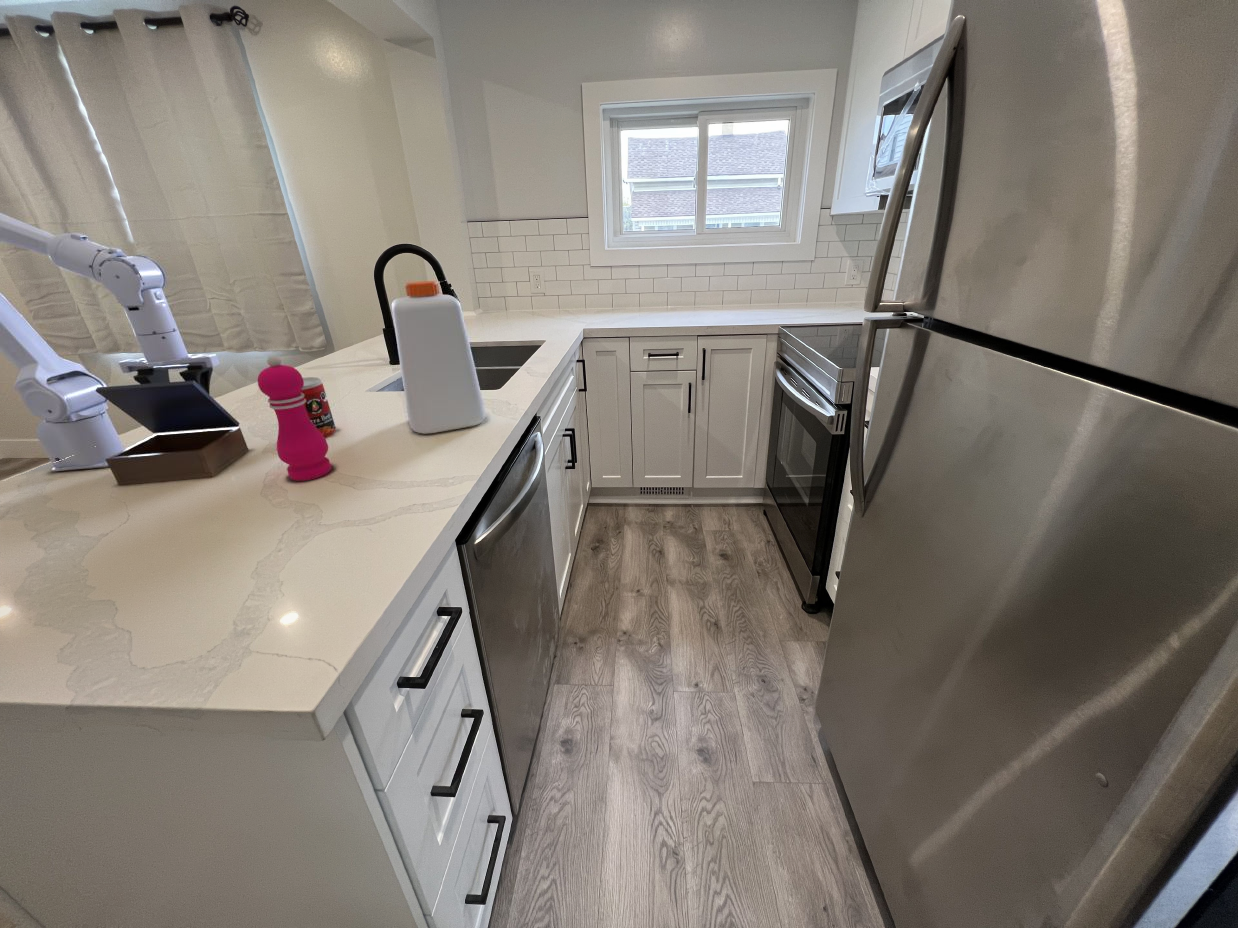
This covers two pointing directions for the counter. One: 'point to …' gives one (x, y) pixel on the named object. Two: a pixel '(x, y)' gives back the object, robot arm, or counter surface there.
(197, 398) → the lid
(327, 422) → the canned food
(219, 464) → the chest
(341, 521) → the counter surface
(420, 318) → the plastic bottle
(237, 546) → the counter surface
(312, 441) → the pepper mill
